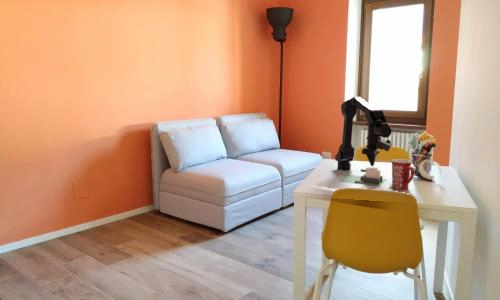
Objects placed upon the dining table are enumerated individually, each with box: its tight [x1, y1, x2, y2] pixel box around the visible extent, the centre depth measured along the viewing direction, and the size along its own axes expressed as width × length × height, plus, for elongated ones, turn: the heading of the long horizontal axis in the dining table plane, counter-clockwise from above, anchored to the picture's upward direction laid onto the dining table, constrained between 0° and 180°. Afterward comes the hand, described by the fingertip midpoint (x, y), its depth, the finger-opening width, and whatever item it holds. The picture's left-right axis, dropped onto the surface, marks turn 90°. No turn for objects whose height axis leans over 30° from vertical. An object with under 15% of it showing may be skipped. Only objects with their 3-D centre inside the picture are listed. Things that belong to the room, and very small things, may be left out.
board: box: [337, 174, 388, 188], centre depth 206 cm, size 21×16×2 cm
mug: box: [391, 158, 415, 191], centre depth 195 cm, size 13×9×14 cm
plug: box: [360, 166, 382, 179], centre depth 204 cm, size 10×4×7 cm, turn 58°
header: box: [360, 173, 384, 184], centre depth 204 cm, size 9×8×2 cm
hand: (372, 165), depth 203 cm, fingers closed
